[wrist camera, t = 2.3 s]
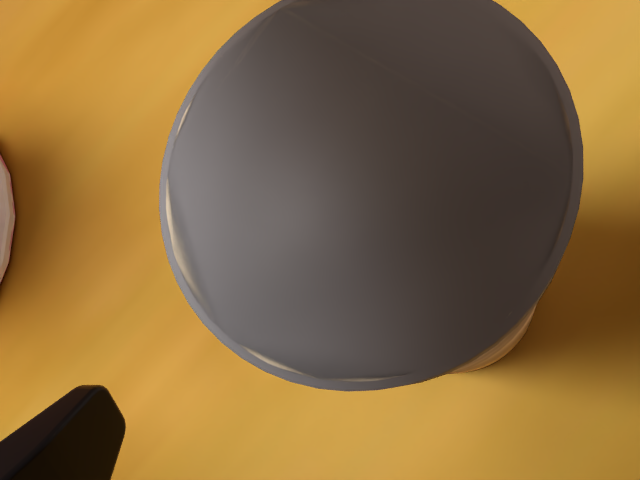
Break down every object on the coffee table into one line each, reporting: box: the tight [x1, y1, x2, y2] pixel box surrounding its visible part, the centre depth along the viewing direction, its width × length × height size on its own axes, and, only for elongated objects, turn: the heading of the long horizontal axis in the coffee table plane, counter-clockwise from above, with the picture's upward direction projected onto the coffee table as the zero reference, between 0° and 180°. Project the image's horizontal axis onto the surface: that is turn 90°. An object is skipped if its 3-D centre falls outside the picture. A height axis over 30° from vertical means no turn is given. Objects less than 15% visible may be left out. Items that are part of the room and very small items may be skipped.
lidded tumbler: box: [159, 0, 583, 391], centre depth 13 cm, size 5×5×12 cm
